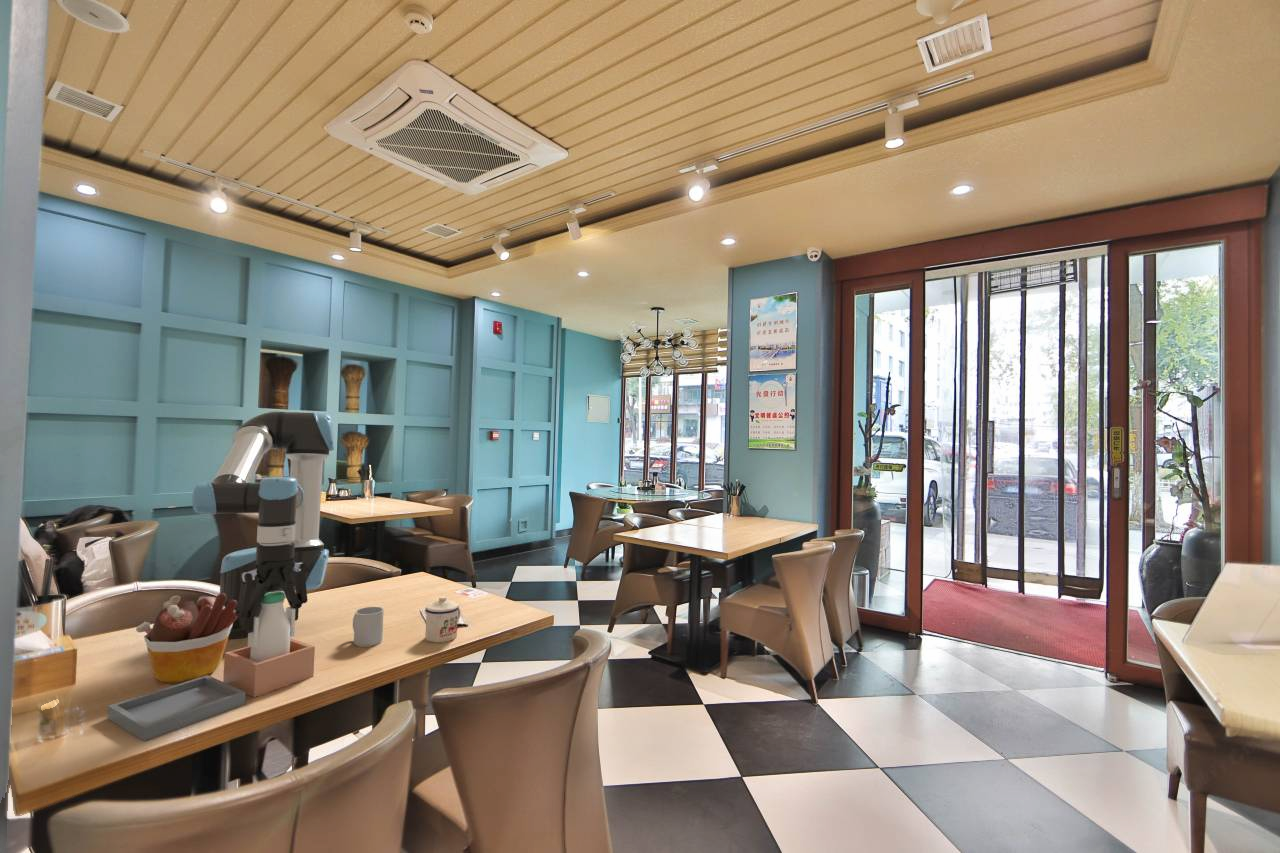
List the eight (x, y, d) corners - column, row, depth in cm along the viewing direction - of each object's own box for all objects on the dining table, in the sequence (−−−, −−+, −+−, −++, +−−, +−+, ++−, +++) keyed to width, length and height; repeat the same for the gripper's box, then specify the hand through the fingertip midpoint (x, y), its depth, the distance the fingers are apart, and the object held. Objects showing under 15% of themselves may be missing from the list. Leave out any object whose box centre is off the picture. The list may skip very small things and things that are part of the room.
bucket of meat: (119, 682, 125) (124, 594, 125) (195, 655, 141) (199, 578, 141) (182, 696, 119) (187, 604, 120) (254, 666, 135) (258, 585, 136)
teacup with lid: (442, 645, 153) (443, 603, 153) (417, 640, 156) (418, 598, 156) (470, 632, 164) (472, 593, 164) (447, 627, 167) (448, 589, 167)
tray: (107, 718, 109) (108, 705, 109) (207, 686, 124) (207, 675, 124) (143, 741, 102) (144, 727, 102) (245, 703, 117) (245, 692, 117)
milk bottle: (289, 682, 127) (293, 595, 128) (248, 690, 123) (252, 600, 123) (288, 670, 134) (291, 587, 134) (249, 677, 129) (253, 592, 130)
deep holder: (223, 683, 126) (224, 652, 126) (282, 664, 137) (283, 636, 137) (254, 697, 119) (255, 665, 120) (313, 676, 131) (314, 646, 131)
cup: (364, 649, 148) (366, 616, 148) (341, 642, 153) (342, 610, 153) (388, 641, 155) (389, 609, 155) (364, 634, 159) (366, 603, 159)
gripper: (236, 551, 119) (231, 658, 118) (327, 538, 136) (323, 630, 136) (218, 547, 122) (213, 651, 121) (309, 535, 140) (305, 625, 139)
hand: (271, 640), depth 129 cm, fingers closed on milk bottle, 7 cm apart
